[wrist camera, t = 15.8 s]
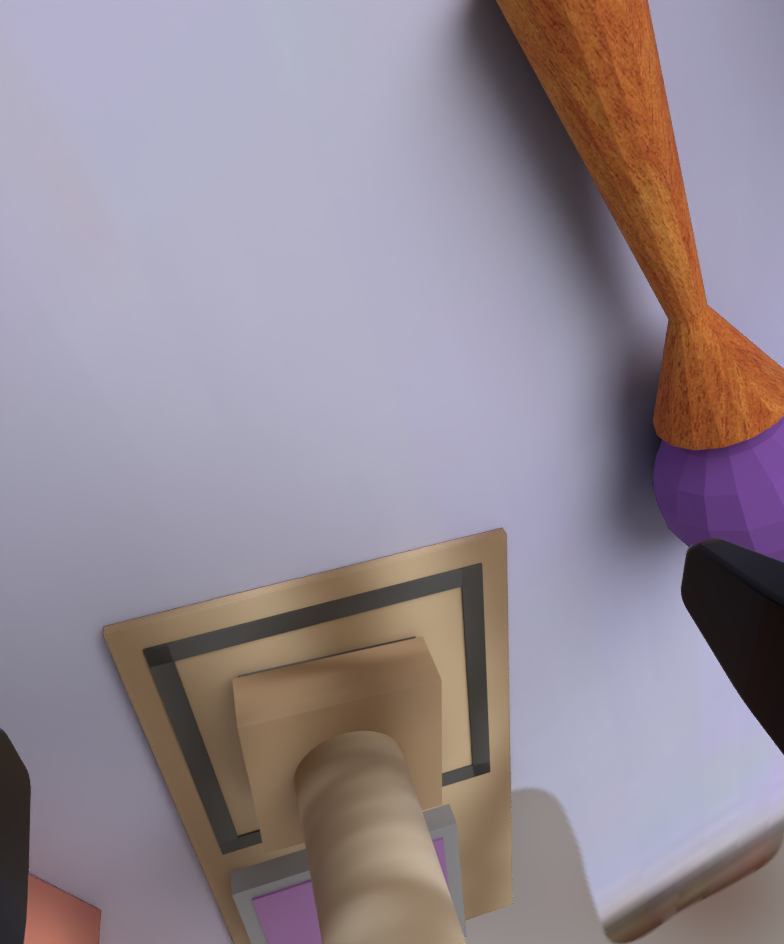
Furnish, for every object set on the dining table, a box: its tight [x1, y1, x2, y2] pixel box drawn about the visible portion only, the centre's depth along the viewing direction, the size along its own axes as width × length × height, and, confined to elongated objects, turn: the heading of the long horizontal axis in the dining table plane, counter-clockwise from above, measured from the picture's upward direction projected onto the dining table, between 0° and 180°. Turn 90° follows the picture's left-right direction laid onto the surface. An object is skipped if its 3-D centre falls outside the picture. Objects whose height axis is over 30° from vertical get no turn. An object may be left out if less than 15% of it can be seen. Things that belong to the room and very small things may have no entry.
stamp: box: [232, 636, 466, 944], centre depth 22 cm, size 7×7×15 cm
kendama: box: [496, 0, 784, 562], centre depth 21 cm, size 6×6×20 cm
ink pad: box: [230, 804, 466, 944], centre depth 34 cm, size 10×10×1 cm
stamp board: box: [103, 528, 513, 944], centre depth 31 cm, size 14×25×1 cm, turn 6°
